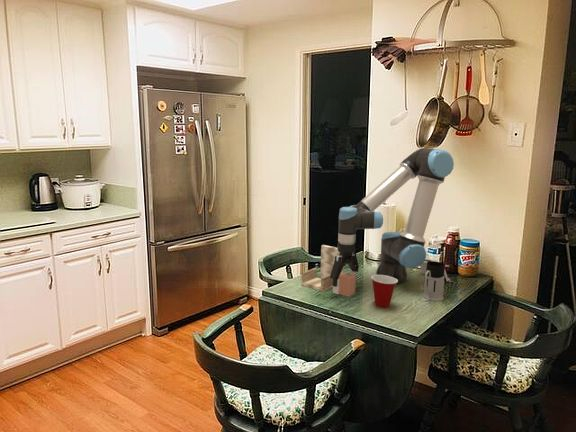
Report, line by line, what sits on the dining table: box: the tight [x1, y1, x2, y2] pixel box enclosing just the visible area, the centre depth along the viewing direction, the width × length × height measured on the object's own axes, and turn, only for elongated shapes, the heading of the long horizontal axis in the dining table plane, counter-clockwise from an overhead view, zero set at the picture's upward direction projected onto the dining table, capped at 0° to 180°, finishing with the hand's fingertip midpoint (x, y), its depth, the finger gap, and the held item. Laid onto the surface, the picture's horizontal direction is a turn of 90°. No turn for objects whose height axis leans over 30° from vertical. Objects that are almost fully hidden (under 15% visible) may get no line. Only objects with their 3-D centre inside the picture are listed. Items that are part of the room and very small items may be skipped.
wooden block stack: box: [301, 244, 345, 292], centre depth 216 cm, size 12×17×16 cm
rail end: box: [338, 272, 357, 297], centre depth 206 cm, size 8×5×8 cm, turn 51°
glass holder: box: [422, 260, 446, 301], centre depth 200 cm, size 9×14×15 cm, turn 140°
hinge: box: [419, 258, 452, 284], centre depth 228 cm, size 17×5×10 cm, turn 21°
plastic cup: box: [370, 274, 398, 309], centre depth 191 cm, size 11×11×12 cm
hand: (344, 289), depth 206 cm, fingers open, 13 cm apart
